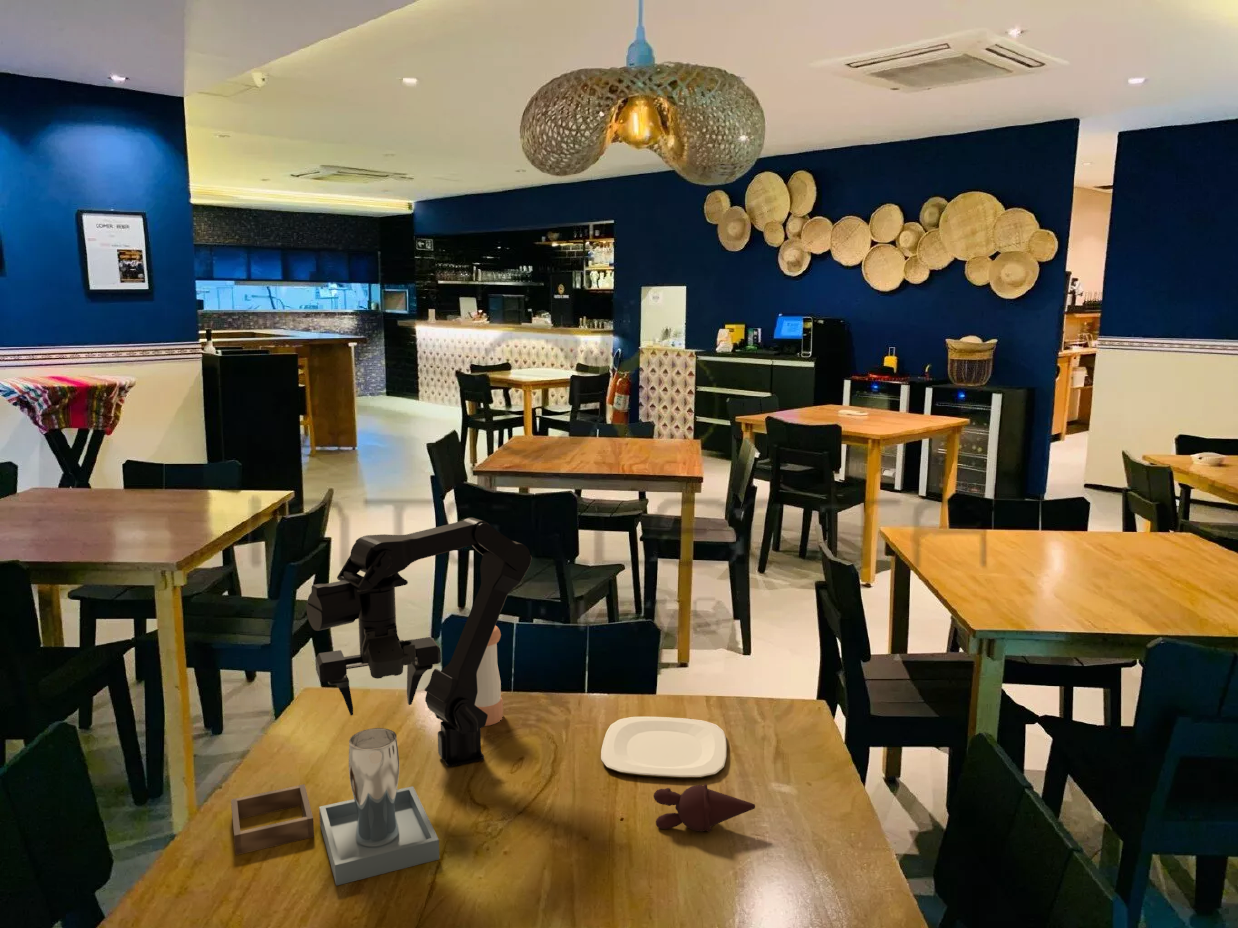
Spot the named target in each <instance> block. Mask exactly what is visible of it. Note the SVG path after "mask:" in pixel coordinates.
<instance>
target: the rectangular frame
mask: <svg viewBox="0 0 1238 928" xmlns="http://www.w3.org/2000/svg"><path fill="white" fill-rule="evenodd" d="M230 804H231V817H232V818H231V819H232V829H233V830H232V831H233V837H234V838H233V839H234V840H233V841H234V851H235V856H237V855H242V854H246V853H250V852H255V851H259V850H263V849H267V848H273V847H277V846H280V845H284V844H288V843H293V842H298V841H302V840H306V839H310V838H314V837H315V827H314V816H313V813H312V808H311V804H310V799H309V796H308V792H307V788H306V784H299V785H294V786H290V787H285V788H284V787H283V788H280V789H274V790H270V791H265V792H261V793H256V794H250V795H245V796H242V797H236V798H232V799H230ZM296 807H300V808H301V812H302V817H299V818H294V819H289V820H286V821H281V822H277V823H271V824H268V825H262V826H258V827H253V828H249V829H245V830H241V827H240V819H245V818H246V819H247V818H249V817H253V816H260V815H265V814H268V813H269V814H270V813H273V812H278V811H282V810H286V809H292V808H296Z"/></svg>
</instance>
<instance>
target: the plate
mask: <svg viewBox="0 0 1238 928" xmlns="http://www.w3.org/2000/svg"><path fill="white" fill-rule="evenodd" d="M600 749H601V750H600V761H601V762H602V763H603V764H604V766H605V767H606V768H607V769H609V770H612V771H615V772H617V773H620V774H624V775H632V776H639V777H640V776H641V777H654V778H670V779H671V778H673V779H702V778H705V777H711V776H716V775H717V774H718V773H719V772H721V771H722V770H723V769H724V767H725V765H726V760H727V737H726V734H725V731H724V730H723V729H722V728H721V727H720V726H718V724H716V723H712V722H710V721H706V720H704V719H703V720H701V719H693V718H687V717H686V718H685V717H683V718H682V717H671V716H670V717H668V716H667V717H666V716H630V717H624V718H619V719H618V720H615V722H613V723H611V724H610V725H609V727H608V729H607V730H606V732H605V735H604V738H603V741H602V746H601V748H600Z"/></svg>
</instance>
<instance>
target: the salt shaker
mask: <svg viewBox="0 0 1238 928" xmlns="http://www.w3.org/2000/svg"><path fill="white" fill-rule="evenodd" d="M501 633H502V632H501V630H500V628H499V627H498V626H497V625H495V628H494V630H493V633H492V635H491V638H490V640H489V643H488V645H487V648H486V650H485V653H484V655H483V658H482V661H481V663H480V666H479V668H478V671H477V688H478V693H477V697H476V701H475V706H477V707H478V708H479V709H481V710H482V711H483V712H485V713H486V714H487V715H488V717H487V721H486V724H485V727H486V726H491V725H495V724H497V723H499V722H501V721H502V720H503V718H502V717H504V700H503V698H502V696H501V693H502V689H501V688H502V685H501V683H502V681H501V677H500V671H499V666H498V645H497V644H498V643H499V641H500V640H501V636H502V634H501ZM500 720H501V721H500Z"/></svg>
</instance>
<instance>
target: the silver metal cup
mask: <svg viewBox="0 0 1238 928" xmlns="http://www.w3.org/2000/svg"><path fill="white" fill-rule="evenodd" d="M348 744H349V745H348V746H349V747H348V774H349V777H348V778H349V781H350V782H349V784H350V788H351V792H352V796H353V799H354V800H355V804H356V809H357V827H356V834H355V838H356V841H357V842H358V843H359V844H360V845H363V846H367V847H377V846H382V845H385V844H388V843H390V842H392V841H393V840H394V839H395V838H396V837H397V836H398V833H399V828H398V824H397V820H396V815H395V801H396V794H397V790H398V786H399V785H398V784H399V778H400V754H399V746H398V740H397V733H396V732H395V731H393V730H392V729H388V728H384V727H377V728H376V727H375V728H374V727H373V728H368V729H367V728H366V729H364V730H360V731H359V732H356V733H354V734H353V735H352V736H351V737H350V738H349V740H348Z"/></svg>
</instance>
